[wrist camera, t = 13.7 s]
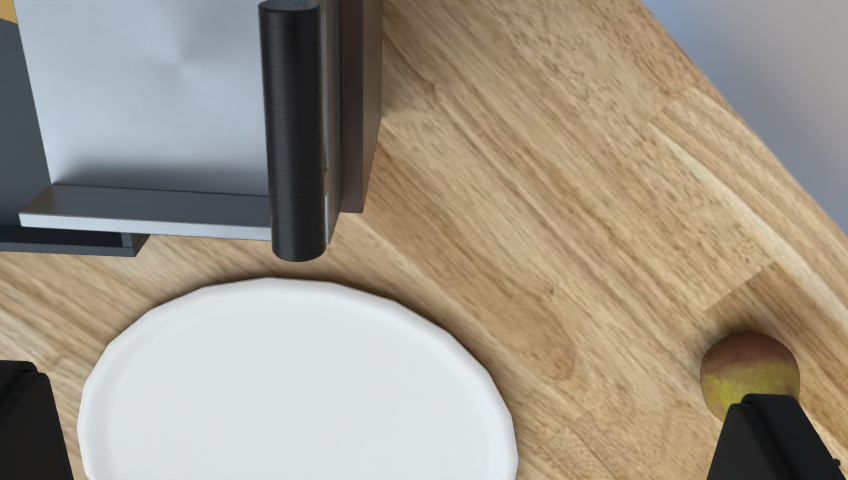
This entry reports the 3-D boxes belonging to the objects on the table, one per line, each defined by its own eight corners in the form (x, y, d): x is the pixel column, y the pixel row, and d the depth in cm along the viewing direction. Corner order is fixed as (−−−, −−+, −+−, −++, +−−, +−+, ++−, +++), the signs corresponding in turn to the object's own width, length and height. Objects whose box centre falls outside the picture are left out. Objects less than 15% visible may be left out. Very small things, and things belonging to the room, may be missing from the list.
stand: (118, -146, 34) (-7, -135, 25) (385, -133, 34) (364, -117, 25) (152, 109, 40) (62, 200, 30) (380, 120, 40) (362, 214, 30)
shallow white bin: (60, 191, 30) (-58, 298, 23) (-4, -121, 25) (-181, -101, 18) (354, 208, 30) (323, 321, 23) (354, -103, 25) (313, -76, 18)
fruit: (668, 353, 47) (734, 506, 37) (746, 298, 45) (840, 442, 34) (721, 403, 49) (798, 562, 38) (799, 352, 47) (904, 504, 36)
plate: (254, 174, 42) (249, 184, 41) (608, 446, 51) (612, 460, 50) (3, 461, 52) (-6, 475, 51) (333, 644, 61) (331, 659, 60)
